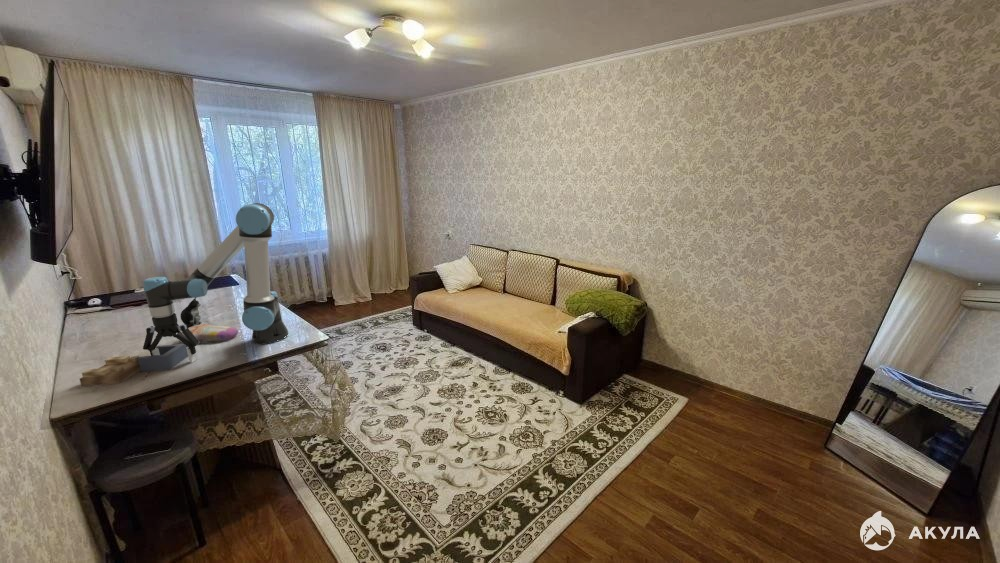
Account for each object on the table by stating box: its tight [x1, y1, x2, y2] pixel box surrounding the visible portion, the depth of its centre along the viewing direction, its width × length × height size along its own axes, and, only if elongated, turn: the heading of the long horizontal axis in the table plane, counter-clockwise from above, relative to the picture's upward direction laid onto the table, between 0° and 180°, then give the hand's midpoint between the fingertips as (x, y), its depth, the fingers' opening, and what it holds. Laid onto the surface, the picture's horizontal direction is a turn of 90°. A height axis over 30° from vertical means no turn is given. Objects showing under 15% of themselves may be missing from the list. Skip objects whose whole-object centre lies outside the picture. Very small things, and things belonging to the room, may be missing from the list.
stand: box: [79, 355, 141, 387], centre depth 150 cm, size 13×15×5 cm
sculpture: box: [177, 323, 239, 342], centre depth 185 cm, size 17×7×25 cm
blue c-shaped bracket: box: [137, 343, 189, 373], centre depth 159 cm, size 10×12×6 cm
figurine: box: [180, 298, 202, 328], centre depth 198 cm, size 10×10×15 cm
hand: (176, 362), depth 160 cm, fingers open, 12 cm apart
